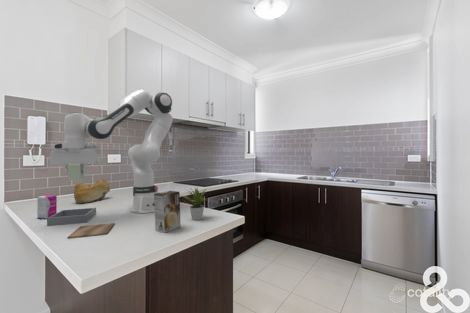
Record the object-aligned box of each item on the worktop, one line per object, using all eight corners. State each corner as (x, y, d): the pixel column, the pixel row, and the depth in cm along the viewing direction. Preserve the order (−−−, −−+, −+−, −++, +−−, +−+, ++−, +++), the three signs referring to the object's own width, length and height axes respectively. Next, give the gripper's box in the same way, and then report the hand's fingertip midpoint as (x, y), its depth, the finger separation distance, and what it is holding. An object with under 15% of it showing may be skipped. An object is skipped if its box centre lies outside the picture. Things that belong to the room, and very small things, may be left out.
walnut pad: (114, 224, 105) (114, 222, 105) (107, 234, 92) (107, 232, 92) (80, 227, 101) (80, 226, 101) (67, 238, 88) (67, 237, 88)
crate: (96, 213, 124) (96, 207, 124) (86, 222, 109) (86, 215, 109) (62, 216, 119) (62, 210, 119) (47, 225, 104) (46, 218, 104)
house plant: (199, 212, 124) (199, 183, 124) (217, 217, 115) (217, 185, 115) (178, 218, 113) (177, 186, 113) (196, 224, 104) (196, 189, 104)
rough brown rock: (99, 197, 175) (97, 178, 175) (113, 197, 167) (111, 177, 167) (66, 205, 154) (64, 183, 154) (80, 205, 147) (77, 182, 147)
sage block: (84, 178, 114) (83, 163, 113) (80, 179, 109) (79, 163, 109) (72, 179, 112) (72, 163, 112) (68, 180, 107) (67, 163, 107)
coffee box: (170, 224, 104) (170, 190, 104) (180, 226, 100) (180, 191, 100) (154, 230, 96) (153, 193, 96) (164, 233, 93) (163, 194, 92)
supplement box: (46, 219, 115) (45, 197, 115) (37, 218, 116) (36, 196, 116) (57, 216, 121) (56, 195, 120) (48, 215, 122) (47, 194, 122)
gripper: (101, 145, 116) (101, 171, 116) (54, 145, 110) (55, 173, 111) (97, 145, 110) (98, 172, 110) (47, 145, 104) (48, 174, 105)
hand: (76, 173), depth 110 cm, fingers closed on sage block, 5 cm apart
